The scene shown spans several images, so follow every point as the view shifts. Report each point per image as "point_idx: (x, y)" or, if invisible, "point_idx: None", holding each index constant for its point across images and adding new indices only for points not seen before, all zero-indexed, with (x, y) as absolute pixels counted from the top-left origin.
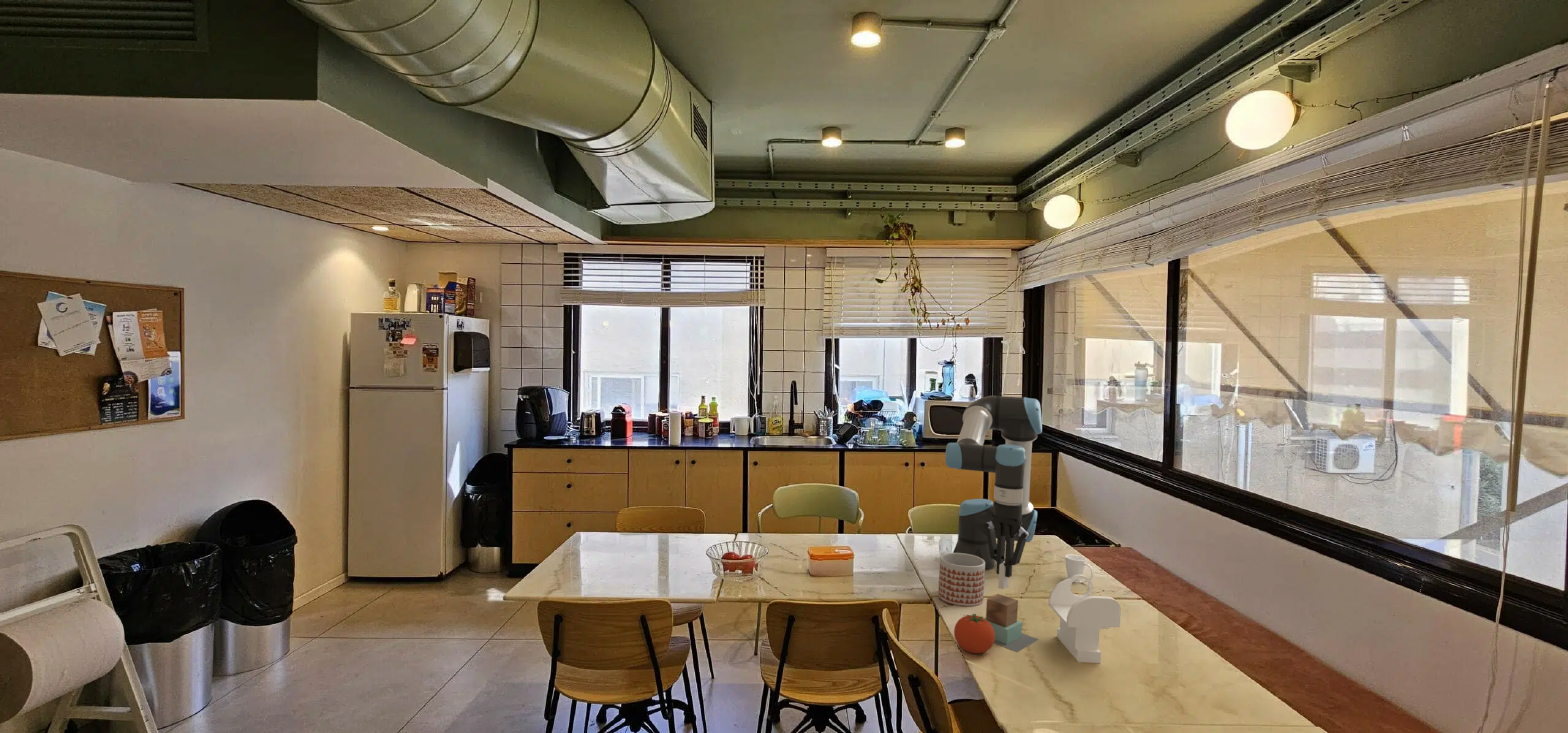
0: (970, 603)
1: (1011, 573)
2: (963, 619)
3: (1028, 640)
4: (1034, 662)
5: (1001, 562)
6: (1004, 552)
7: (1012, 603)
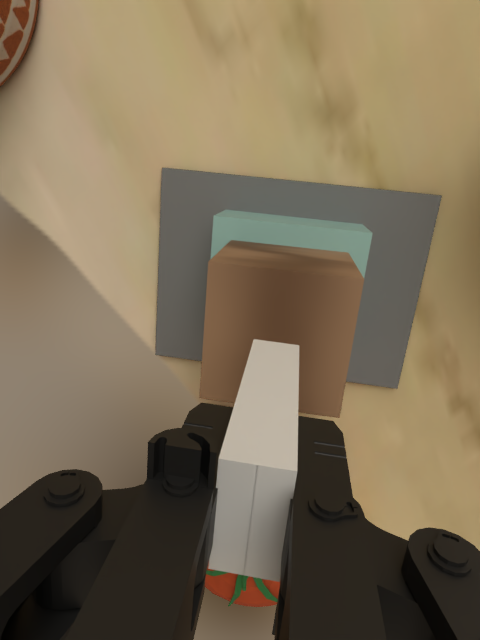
0: (14, 51)
1: (342, 449)
2: (206, 584)
3: (403, 246)
4: (474, 408)
5: (211, 547)
6: (181, 612)
7: (350, 354)
